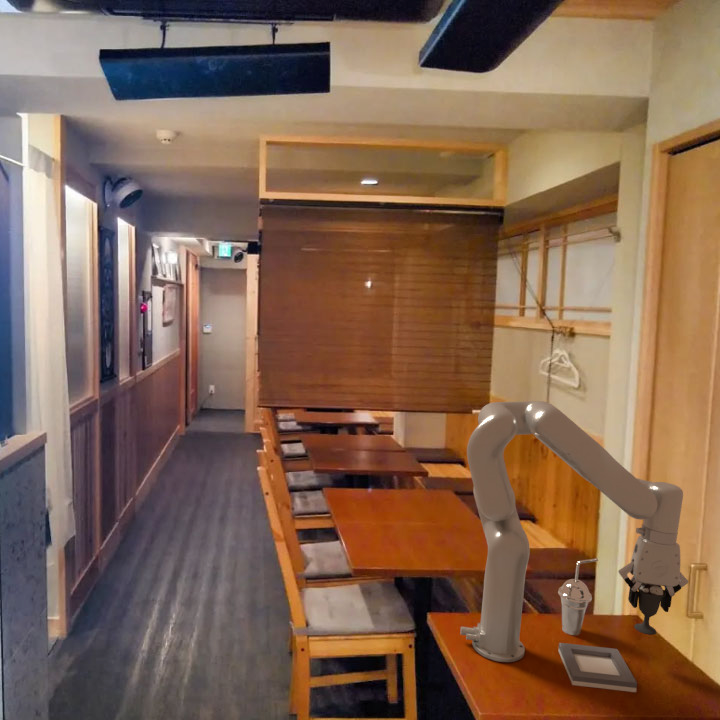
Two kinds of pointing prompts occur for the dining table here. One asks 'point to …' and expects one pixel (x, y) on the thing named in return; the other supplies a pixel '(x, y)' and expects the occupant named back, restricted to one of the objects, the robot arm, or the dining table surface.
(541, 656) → the dining table surface
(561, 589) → the cup with straw
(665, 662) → the dining table surface
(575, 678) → the square picture frame
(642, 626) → the sundae
